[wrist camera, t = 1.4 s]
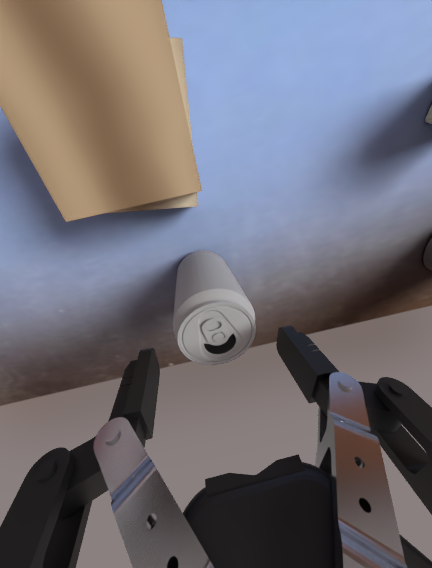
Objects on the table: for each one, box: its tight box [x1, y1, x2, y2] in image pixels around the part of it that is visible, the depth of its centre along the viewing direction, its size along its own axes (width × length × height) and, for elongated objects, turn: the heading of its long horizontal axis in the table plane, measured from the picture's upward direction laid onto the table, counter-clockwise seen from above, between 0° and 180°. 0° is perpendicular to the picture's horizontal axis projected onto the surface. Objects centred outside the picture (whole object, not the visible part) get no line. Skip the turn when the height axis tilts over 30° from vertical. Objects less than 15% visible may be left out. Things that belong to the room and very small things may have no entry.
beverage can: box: [173, 251, 256, 365], centre depth 18 cm, size 6×6×12 cm
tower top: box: [0, 0, 202, 222], centre depth 12 cm, size 9×9×4 cm
